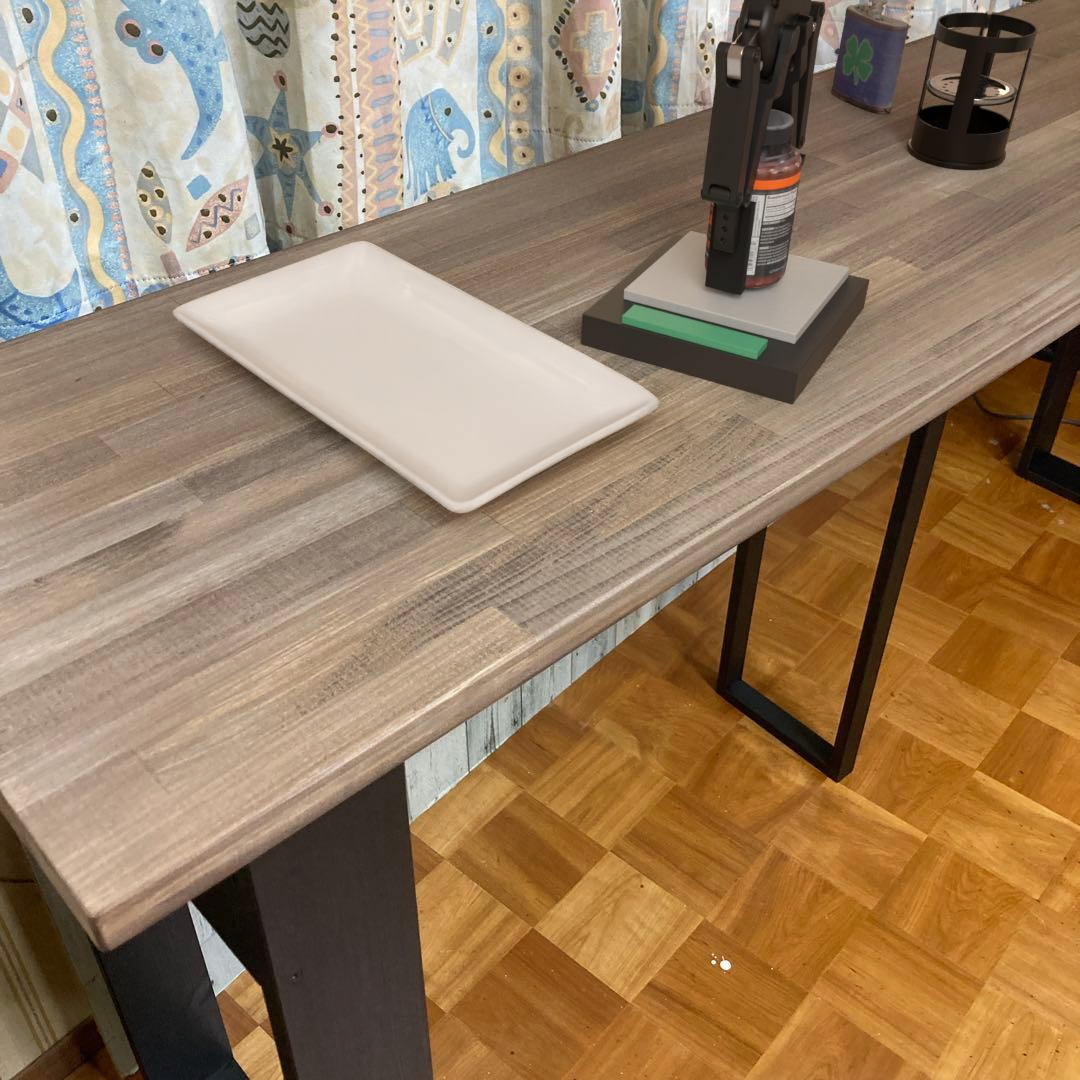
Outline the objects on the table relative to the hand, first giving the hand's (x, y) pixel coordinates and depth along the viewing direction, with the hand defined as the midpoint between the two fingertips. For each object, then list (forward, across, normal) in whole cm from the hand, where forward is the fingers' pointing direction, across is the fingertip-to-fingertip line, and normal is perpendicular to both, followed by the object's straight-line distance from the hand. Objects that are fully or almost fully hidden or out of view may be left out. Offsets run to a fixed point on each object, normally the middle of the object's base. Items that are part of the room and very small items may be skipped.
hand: (742, 269), depth 82 cm
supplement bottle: (0, 0, 0) cm, 1 cm away
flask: (+4, -54, -7) cm, 55 cm away
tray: (+4, +22, -15) cm, 27 cm away
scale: (+4, +2, 0) cm, 4 cm away
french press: (+4, -44, +6) cm, 45 cm away
